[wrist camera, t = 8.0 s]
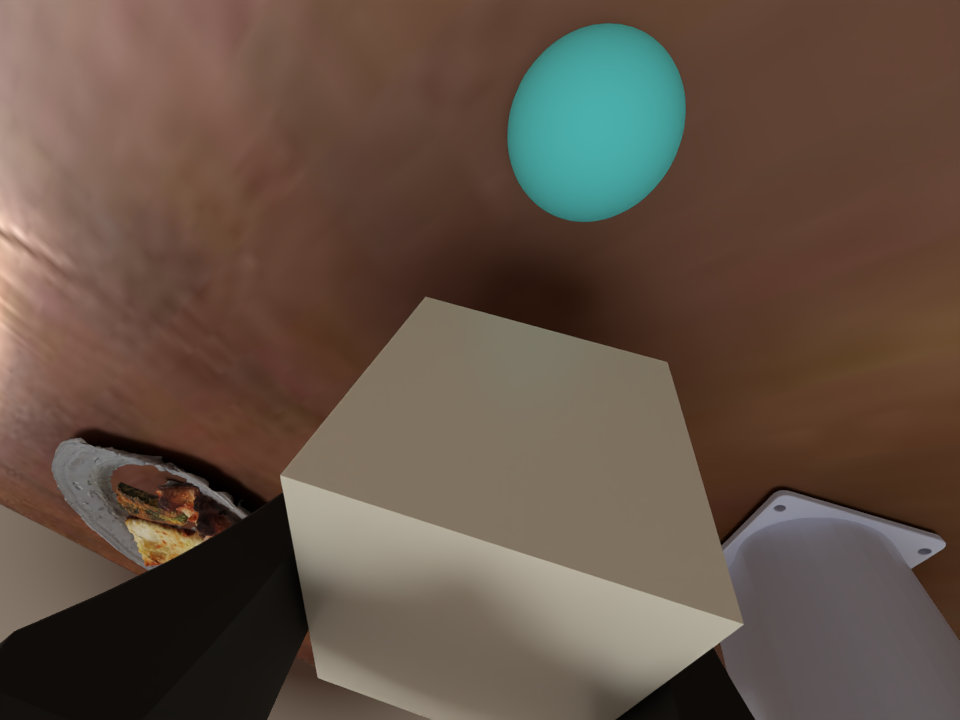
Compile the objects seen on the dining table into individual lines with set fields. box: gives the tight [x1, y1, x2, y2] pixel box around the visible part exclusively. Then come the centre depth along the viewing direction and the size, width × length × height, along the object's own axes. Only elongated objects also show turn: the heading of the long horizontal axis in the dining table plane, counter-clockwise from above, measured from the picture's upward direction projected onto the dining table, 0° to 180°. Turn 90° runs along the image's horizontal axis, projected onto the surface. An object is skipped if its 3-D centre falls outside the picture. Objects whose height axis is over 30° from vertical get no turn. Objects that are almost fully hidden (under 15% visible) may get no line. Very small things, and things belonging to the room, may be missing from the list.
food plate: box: [51, 438, 251, 570], centre depth 38 cm, size 25×23×4 cm
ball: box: [507, 23, 686, 222], centre depth 12 cm, size 5×5×5 cm
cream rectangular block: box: [280, 297, 744, 720], centre depth 10 cm, size 8×6×6 cm
